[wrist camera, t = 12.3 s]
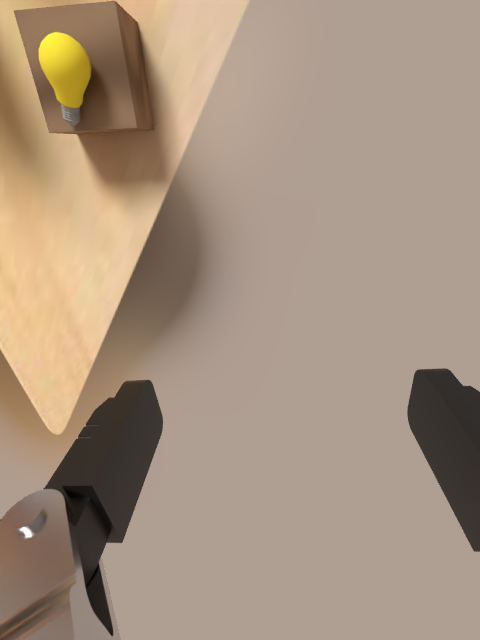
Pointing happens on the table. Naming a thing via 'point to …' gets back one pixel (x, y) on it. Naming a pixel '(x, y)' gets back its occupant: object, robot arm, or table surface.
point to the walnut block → (93, 66)
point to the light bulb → (66, 72)
